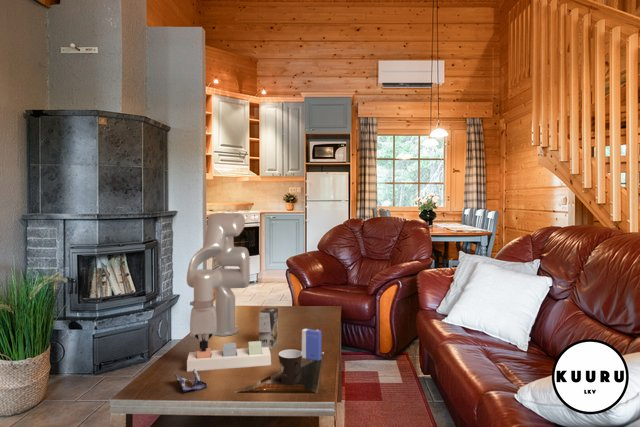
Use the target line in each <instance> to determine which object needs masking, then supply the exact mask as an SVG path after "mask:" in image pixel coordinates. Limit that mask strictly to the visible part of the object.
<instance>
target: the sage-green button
mask: <svg viewBox="0 0 640 427" xmlns="http://www.w3.org/2000/svg"><path fill="white" fill-rule="evenodd" d="M247 343H248V347H247V348H248V354H249V355H255V354H262V345H261V341H259V340H256V341H248V342H247Z"/></svg>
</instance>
